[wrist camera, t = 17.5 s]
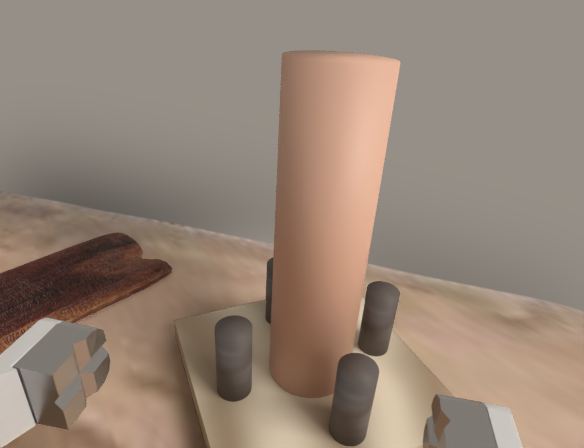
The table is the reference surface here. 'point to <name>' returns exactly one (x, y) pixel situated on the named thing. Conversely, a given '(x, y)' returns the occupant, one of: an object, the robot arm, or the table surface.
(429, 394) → the peg stand
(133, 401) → the table surface
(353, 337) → the post
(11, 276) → the wooden tablet
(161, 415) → the table surface
